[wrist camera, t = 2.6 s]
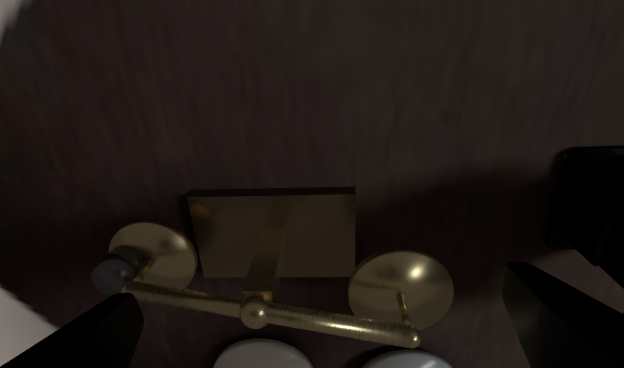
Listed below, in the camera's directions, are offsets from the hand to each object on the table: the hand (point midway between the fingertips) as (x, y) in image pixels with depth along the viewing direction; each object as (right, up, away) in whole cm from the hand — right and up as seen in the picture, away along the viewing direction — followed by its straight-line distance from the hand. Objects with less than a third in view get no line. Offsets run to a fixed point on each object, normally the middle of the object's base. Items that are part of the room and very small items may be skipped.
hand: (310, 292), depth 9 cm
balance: (-2, 0, +14) cm, 15 cm away
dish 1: (-4, -12, +20) cm, 24 cm away
